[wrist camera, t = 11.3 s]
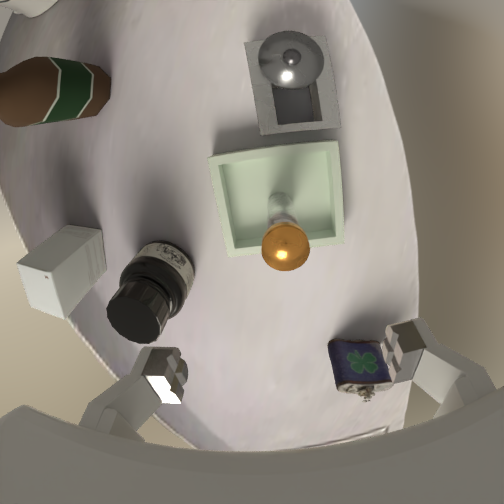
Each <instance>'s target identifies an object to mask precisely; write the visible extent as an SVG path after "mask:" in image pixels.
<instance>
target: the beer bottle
mask: <svg viewBox="0 0 504 504" xmlns="http://www.w3.org/2000/svg"><path fill="white" fill-rule="evenodd" d="M110 85H111V78H110V77H109V76H108V75H107V74H106V73H105V72H104V71H103V70H102V69H101V68H100V67H98V66H95V65H92V64H87V63H82V62H77V61H71V60H66V59H59V58H52V57H34V58H31V59H28V60H25V61H23V62H21V63H19V64H17V65H15V66H14V67H12V68H10V69H9V70H7V71H6V72H3V73H0V119H1V120H2V121H3V122H4V123H5V124H7V125H10V126H13V127H24V126H31V125H37V124H43V123H51V122H58V121H67V120H75V119H80V118H86V117H91V116H96V115H97V114H98V113H99V112H100V110H101V109H102V108H103V106H104V105H105V104H106V103H107V101H108V100H109V99H110Z"/></svg>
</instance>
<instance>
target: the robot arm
mask: <svg viewBox="0 0 504 504" xmlns="http://www.w3.org/2000/svg"><path fill="white" fill-rule="evenodd" d="M57 1H58V0H0V6H2V7H5V8H8V9H11V10H14V13H16V14H21V13H22V14H24V15H25V16H27V17H35V16H38V15H40V14H41V13H43V12H45V11H46V10H47V9H49V8H50V7H51V6H52V5H54V4H55V3H56V2H57ZM385 334H386V336H387V337H386V338H385V339H384V340H383V346H382V351H383V357H384V360H385V363H386V364H388V365H389V366H390V368H389V374H390V377H391V380H392V382H393V384H395V383H400V382H404V381H408V380H412V381H413V382H415V383H416V384H417V385H418V386H419V387H421V388H422V389H423V390H424V391H425V392H427V393H428V394H429V395H430V396H431V397H432V398H434V399H435V400H436V401H437V402H439V403H440V404H441V405H440V407H439V408H438V410H437V412H436V413H435V415H434V416H433V417H434V419H431V420H429V421H426V422H423V423H420V424H417V425H414V426H411V427H408V428H404V429H401V430H397V431H394V432H390V433H387V434H383V435H379V436H375V437H370V438H366V439H361V440H357V441H351V442H346V443H340V444H334V445H328V446H321V447H313V448H304V449H293V450H279V451H213V450H199V449H188V448H180V447H172V446H164V445H158V444H152V443H147V442H145V440H144V438H143V437H142V436H141V435H140V434H139V433H138V432H137V430H138V429H139V428H140V427H141V426H142V425H143V424H144V423H145V422H146V420H147V419H148V418H149V417H150V416H151V415H152V414H153V413H154V412H155V411H156V410H157V409H158V408H159V407H160V406H161V405H162V402H164V403H181V401H182V397H183V394H184V389H183V387H182V386H183V385H184V384H185V383H186V382H187V379H188V368H187V364H186V362H185V361H184V360H183V359H182V358H180V356H181V352H180V350H179V348H177V347H146V346H144V347H143V348H142V349H141V351H140V353H139V355H138V358H137V360H136V362H135V364H134V366H133V368H132V371H131V373H130V375H126V376H124V377H123V378H122V379H120V380H119V381H118V382H116V383H115V384H114V385H112V386H111V387H110V388H108V389H107V390H106V391H104V392H103V393H102V394H100V395H99V396H98V397H96V398H95V399H93V400H92V401H91V402H89V404H88V406H87V408H86V410H85V412H84V414H83V416H82V419H81V421H80V423H79V425H76V424H73V423H70V422H68V421H65V420H62V419H60V418H57V417H54V416H52V415H49V414H47V413H44V412H42V411H40V410H37V409H35V408H33V407H31V406H28V405H21V406H19V407H17V408H15V409H14V410H12V411H11V412H9V413H8V414H6V415H4V416H3V417H2V418H0V504H504V386H503V387H501V388H499V389H497V390H496V388H495V386H494V384H493V382H492V380H491V379H490V377H489V375H488V373H487V372H486V370H485V368H484V367H483V366H481V365H479V364H478V363H475V362H474V361H472V360H470V359H469V358H467V357H465V356H463V355H461V354H460V353H458V352H456V351H454V350H452V349H451V348H449V347H447V346H445V345H443V344H438V342H437V341H436V339H435V337H434V336H433V334H432V332H431V330H430V329H429V327H428V326H427V324H426V322H425V321H424V319H423V318H421V317H420V318H416V319H412V320H407V321H403V322H399V323H394V324H390V325H387V327H386V330H385Z"/></svg>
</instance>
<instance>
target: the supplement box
mask: <svg viewBox="0 0 504 504" xmlns="http://www.w3.org/2000/svg"><path fill="white" fill-rule="evenodd" d="M17 267H18V270H19V274H20V277H21V280H22V283H23V286H24V289H25V292H26V295H27V298H28V301H29V303H30V306H31V307H33V308H35V309H38V310H40V311H43V312H45V313H48V314H51V315H54V316H57V317H59V318H62V319H64V320H65V319H66V318H67V317H68V315H69V314H70V313H71V312H72V310H73V309H74V308H75V307H76V305H77V304H78V303H79V302H80V301H81V299H82V298H83V297H84V296H85V295H86V293H87V292H88V291H89V290H90V289H91V288H92V286H93V285H94V284H95V283H96V282H97V281H98V280H99V278H100V277H101V276H102V275H103V274H104V273H105V272H106V263H105V256H104V248H103V240H102V230H100V229H94V228H87V227H80V226H73V225H66V226H65V227H63V228H62V229H61V230H59V231H58V232H56V233H55V234H53V235H52V236H51V237H49V238H48V239H47V240H45V241H44V242H43V243H41V244H40V245H39V246H37V247H36V248H35V249H33V250H32V251H31V252H30V253H28V254H27V255H26V256H25V257H23V258H22V259H21V260H19V261H18V262H17Z"/></svg>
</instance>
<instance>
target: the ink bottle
mask: <svg viewBox="0 0 504 504" xmlns="http://www.w3.org/2000/svg"><path fill="white" fill-rule="evenodd" d="M194 276H195V270H194V266H193V263H192V261H191V259H190V258H189V256H188V255H187V254H186V253H185V252H184V251H183V250H182V249H181V248H179V247H178V246H176V245H174V244H172V243H170V242H166V241H154V242H151V243H149V244H147V245H145V246H144V247H143V248H142V249H141V250H140V251H139V252H138V254H137V255H136V256H135V257H134V258H133V259H132V260H131V262H130V263H129V264H128V265H127V266H126V267H125V269H124V270H123V272H122V274H121V277H120V282H119V287H120V288H119V289H118V291H117V292H116V293H115V295H114V296H113V297H112V298H111V300H110V301H109V304H108V306H107V308H106V310H107V317H108V319H109V321H110V323H111V325H112V327H113V328H114V329H115V330H116V331H117V332H118V333H119V334H120V335H122V336H123V337H125V338H127V339H128V340H130V341H133V342H136V343H139V344H150V343H152V342H154V341H157V340H158V338H159V336H160V335H161V334H162V331H163V329H164V327H165V325H166V322H167V320H168V319H171V318H172V317H174V316H175V315H177V314H178V313H179V311H180V310H181V309H182V307H183V305H184V302H185V300H186V299H187V296H188V294H189V292H190V289H191V287H192V284H193V281H194Z"/></svg>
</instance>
